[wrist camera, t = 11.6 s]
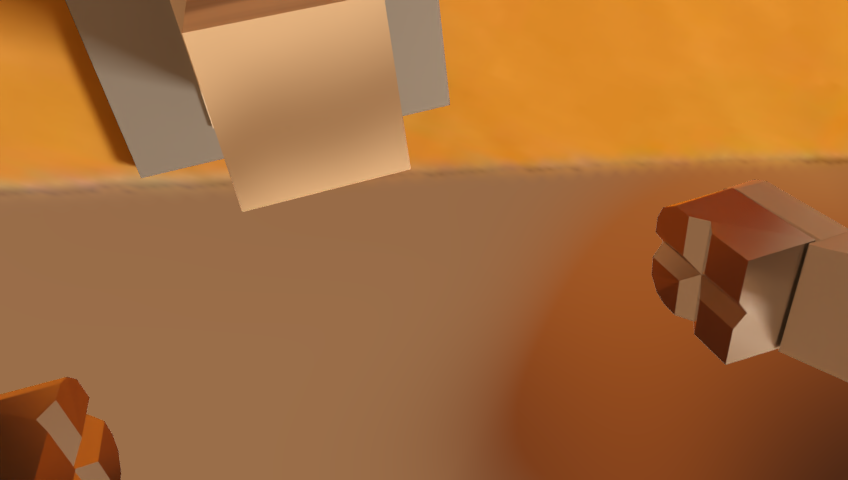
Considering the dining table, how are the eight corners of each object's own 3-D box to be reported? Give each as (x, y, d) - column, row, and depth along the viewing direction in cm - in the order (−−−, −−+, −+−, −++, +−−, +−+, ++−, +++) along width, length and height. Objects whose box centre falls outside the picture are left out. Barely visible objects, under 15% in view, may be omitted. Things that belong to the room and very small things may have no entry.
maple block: (186, -4, 19) (182, 33, 15) (346, -34, 20) (383, -8, 16) (235, 145, 22) (242, 212, 17) (373, 113, 22) (410, 168, 18)
